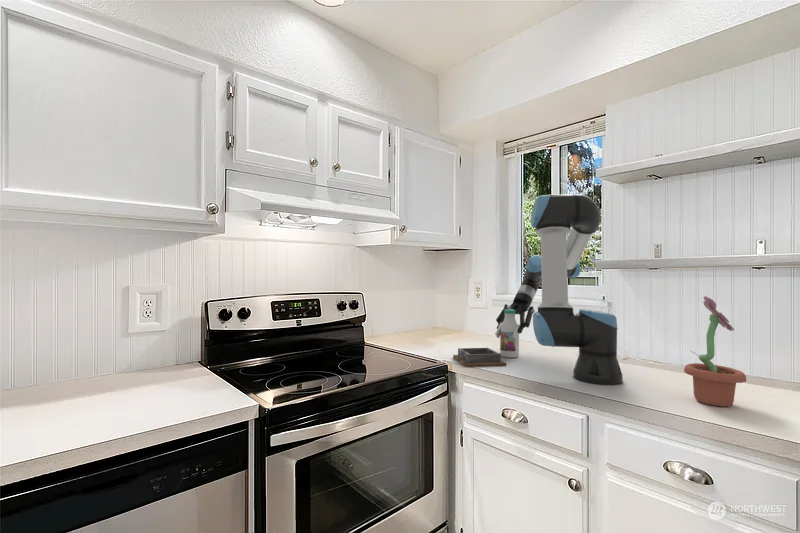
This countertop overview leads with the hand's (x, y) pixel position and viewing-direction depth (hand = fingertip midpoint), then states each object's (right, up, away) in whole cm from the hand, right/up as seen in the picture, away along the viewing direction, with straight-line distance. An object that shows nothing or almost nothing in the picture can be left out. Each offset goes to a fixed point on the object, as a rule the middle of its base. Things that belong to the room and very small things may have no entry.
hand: (505, 337), depth 170 cm
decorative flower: (+44, -9, -57) cm, 73 cm away
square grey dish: (-13, -8, -9) cm, 18 cm away
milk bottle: (+2, -9, +2) cm, 9 cm away
